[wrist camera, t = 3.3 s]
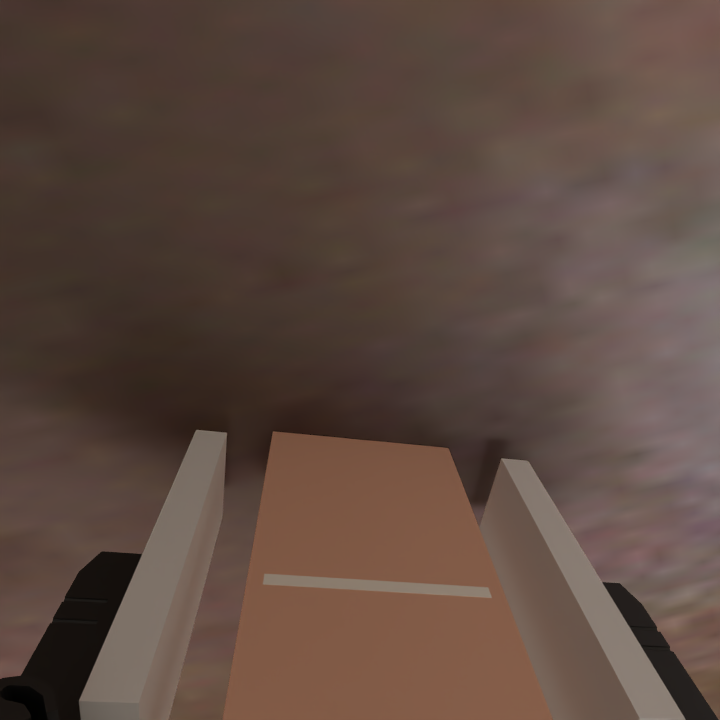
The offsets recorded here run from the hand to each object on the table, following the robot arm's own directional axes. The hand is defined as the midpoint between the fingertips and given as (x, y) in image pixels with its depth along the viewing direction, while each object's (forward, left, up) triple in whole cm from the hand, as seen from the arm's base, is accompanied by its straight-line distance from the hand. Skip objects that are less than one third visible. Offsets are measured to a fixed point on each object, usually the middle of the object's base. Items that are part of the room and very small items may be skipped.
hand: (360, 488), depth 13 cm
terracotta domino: (0, 0, -1) cm, 1 cm away
